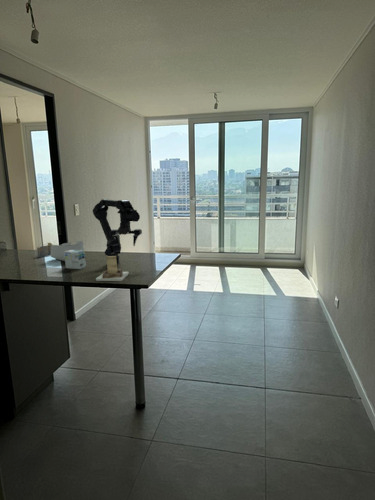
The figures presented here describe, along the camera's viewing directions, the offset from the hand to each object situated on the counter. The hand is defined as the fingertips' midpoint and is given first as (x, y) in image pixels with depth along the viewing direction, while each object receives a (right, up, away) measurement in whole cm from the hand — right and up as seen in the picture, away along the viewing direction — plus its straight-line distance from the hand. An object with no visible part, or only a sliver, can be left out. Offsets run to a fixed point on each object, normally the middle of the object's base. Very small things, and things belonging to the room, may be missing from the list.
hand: (126, 246), depth 201 cm
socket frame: (-4, -16, -20) cm, 26 cm away
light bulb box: (-33, -14, +4) cm, 36 cm away
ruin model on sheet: (-68, -7, +42) cm, 80 cm away
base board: (-4, -17, -20) cm, 27 cm away
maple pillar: (-4, -16, -20) cm, 26 cm away
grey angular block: (-45, -9, +29) cm, 54 cm away
